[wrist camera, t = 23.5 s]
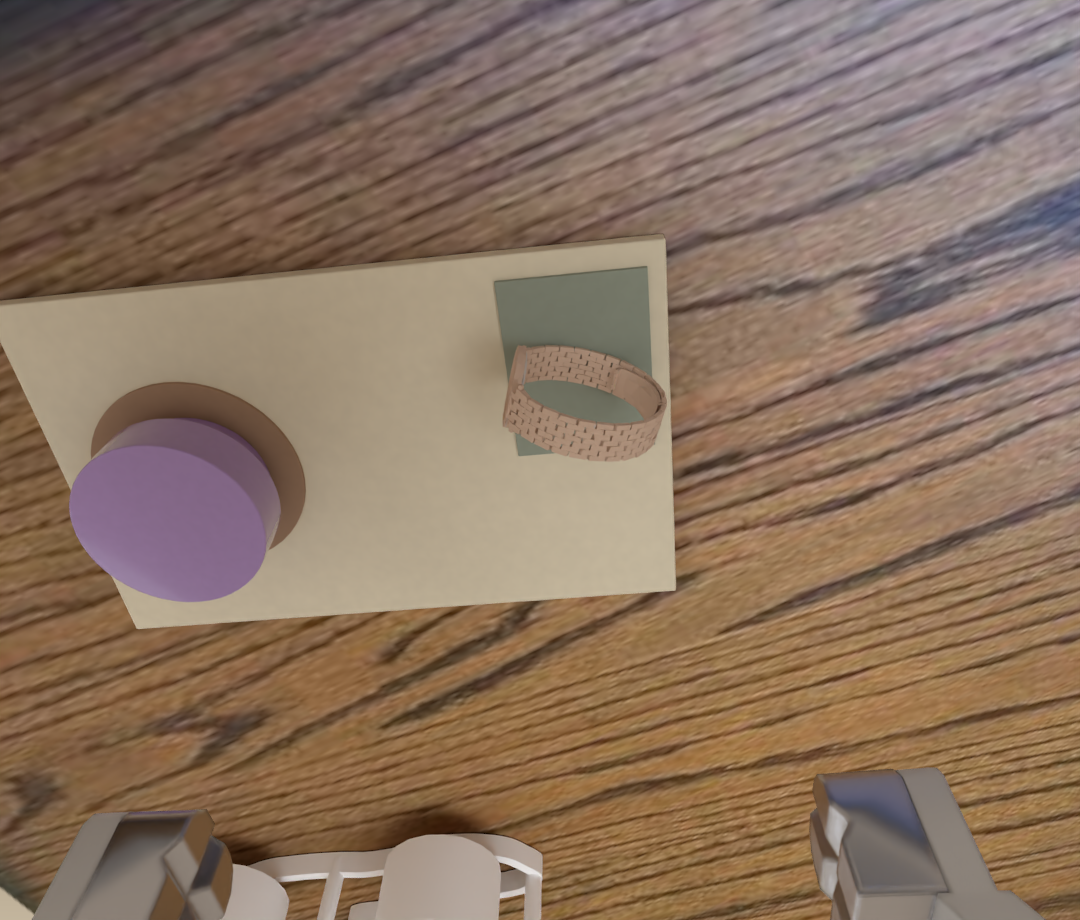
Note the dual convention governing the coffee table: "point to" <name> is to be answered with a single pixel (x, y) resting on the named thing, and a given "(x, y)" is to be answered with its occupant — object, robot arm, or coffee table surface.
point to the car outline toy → (401, 880)
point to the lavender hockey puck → (177, 509)
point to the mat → (383, 420)
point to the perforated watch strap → (542, 420)
